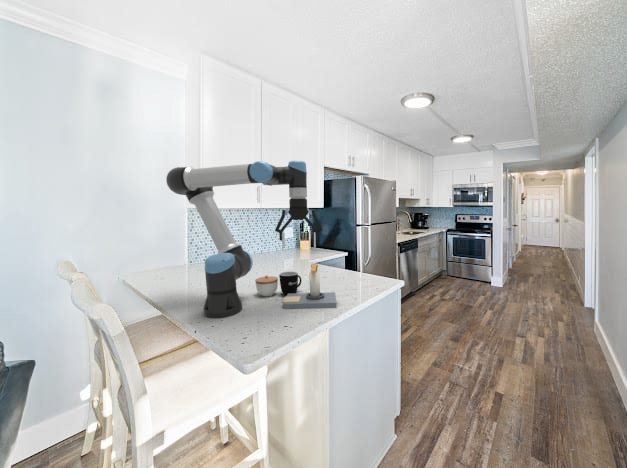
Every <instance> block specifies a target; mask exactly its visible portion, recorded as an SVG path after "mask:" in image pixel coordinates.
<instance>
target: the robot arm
mask: <svg viewBox="0 0 627 468" xmlns="http://www.w3.org/2000/svg"><path fill="white" fill-rule="evenodd" d="M307 173H308V171H307V164H306V162H305V161H303V160H291V161H290V160H289V162H288V165H287V166H275V165H273V164H270V163H268V162H266V161H262V160H258V161H254V162H253V163H246V164H245V163H244V164H234V165H224V166H212V167H201V168H194V167H192V166H184V167H183V166H182V167H179V166H177V167H174V168H172V169H171V170H169V171H168V172H167V175H166V185H167V187H168V188H169V190H170V191H172V192H173V193H174V194H177V195H181V196H185V197H186V198H187V200H188V202H189V204H190V205H194V207H195V208H196V210H197V212H198V214H199V216H200V218H201V220H202V221H203V224H204V227H205V228H206V230H207V232H208V234H209V236H210V238H211V239H212V242H213V244H214V246H215V248H216V249H217V254H212V255H210V256H208V257H207V258H206V259H204V273H205V284H206V299H205V301H204V306H203V315H204V316H205V317H207V318H211V319H212V318H214V319H216V318H218V319H219V318H226V317H230V316H234V315H236V314H238V313H240V312H241V311H242V310H243V304H242V300H241V298H240V295H239V293H238V291H237V290H238V289H237V280H239V279H241V278H242V277H245V276H247V274H248V273H249V272H250V271H251V270H252V268H253V258H252V255H251V254H250V253H249V252H248V251H247V250H244V249H243V246H242V245H241V244H239V243H237V242H236V241H235V238H234V237H233V235H232V232H231V231H230V228H229V226H228V225H227V223H226V221H225V219H224V217H223V215H222V213H221V211H220V209H219V207H218V205H217V203H216V202H215V199H214V195H215V192H214V187H225V186H237V185H246V184H249V185H250V184H262V185H264V186H271V187H272V186H281V185H282V186H283V185H284V186H285V185H286V186H287V185H288V188H289V189H288V194H289V195H288V197H289V198H290V199H289V202H288V203H289V208H288V210H286V209H283V210H281V216H280V218H279V221H278V223H277V225H276V227H275V228H274V229H275V230H274V231H275V232H276V233H278V234H279V241H282V243H281V246H282V249H285V248H286V245H285V243H286V242H285V241H286V240H285V232H284V231H285V229H286V228H287V227H288V226H289V224H290V223H291V222H292V221H305V222H306V223H307V224H308V225H309V226H310V227H311V228H312V229H313V231H314V232H313V248H314V249H316V247H317V245H316V244H317V243H316V242H317V241H318V240H319V233H320V232H322V231H323V227H322V225H321V224H320V222H319V220H318V218H317V216H316V214H315V213H316V212H315V209H308V199H307V197H308V188H307V180H308V178H307ZM288 214H289V216H290V217H289V219H288V220H287V221H286V222H285V223H284V225H283V226H282V228H281V225H282V223H283V221H284V219H285V217H286V216H287V215H288ZM308 214H310V216H312V218H313V220H314V223H315V224H316V225H315V224H314V223H312V221H311V220H310V219H309V218H308V217H307V216H308ZM316 226H317V227H318V228H317V227H316ZM280 228H281V229H280Z"/></svg>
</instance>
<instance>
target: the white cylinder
mask: <svg viewBox="0 0 627 468" xmlns="http://www.w3.org/2000/svg"><path fill="white" fill-rule="evenodd" d="M308 275H309V279H308V280H309V293H310V297H319V296H320V292H321V281H320V271H318V270H317V271H316V273H311V271H309V273H308Z"/></svg>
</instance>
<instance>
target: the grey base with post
mask: <svg viewBox="0 0 627 468" xmlns="http://www.w3.org/2000/svg"><path fill="white" fill-rule="evenodd" d="M316 271H317V272H318V267H316ZM336 297H337V296H336V292H335V291H333V292H331V291H330V292H321V291H320V296H319V297H310V292H296V293H291V294H287V296H284V298H283V300H282V307H283V309H285V310H286V309H288V310H290V309H326V308H327V309H328V308H329V309H330V308H332V309H333V308H336V307H337V298H336Z"/></svg>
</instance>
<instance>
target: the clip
mask: <svg viewBox="0 0 627 468" xmlns="http://www.w3.org/2000/svg"><path fill="white" fill-rule="evenodd" d="M310 267H311V269H310V272H311V273H316V267H317V268H318V267H319V263H311V264H310Z"/></svg>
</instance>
